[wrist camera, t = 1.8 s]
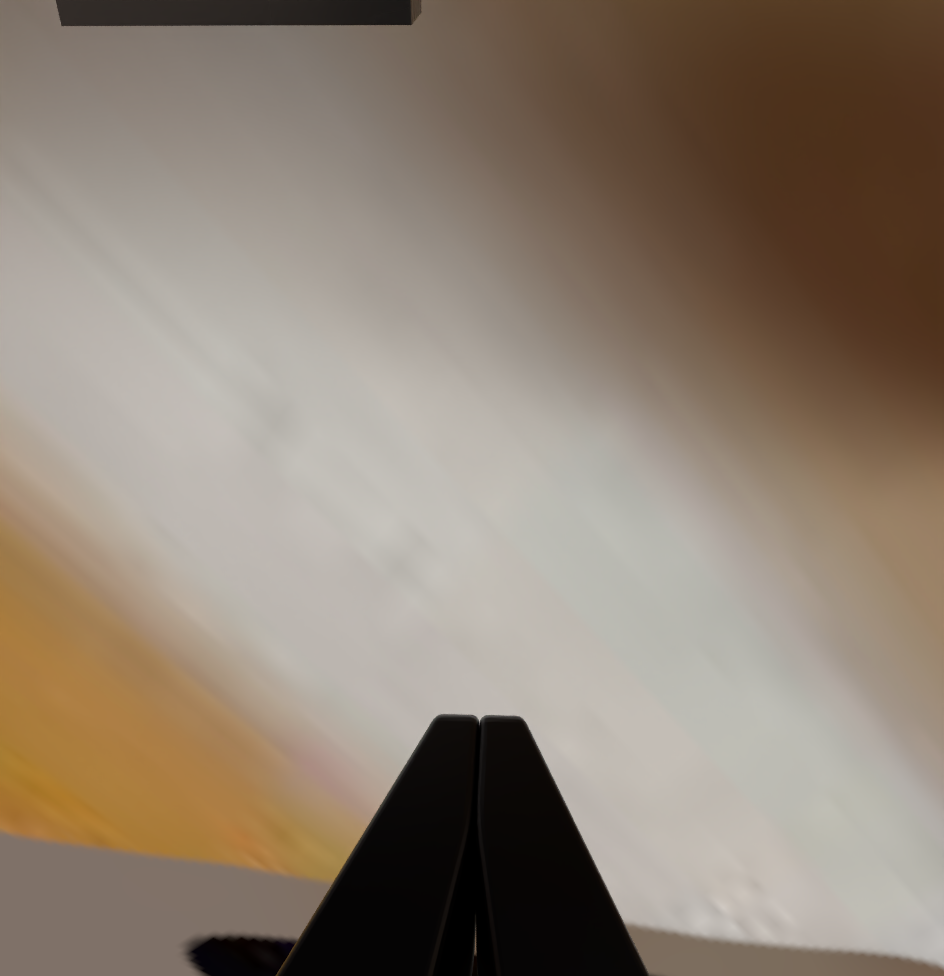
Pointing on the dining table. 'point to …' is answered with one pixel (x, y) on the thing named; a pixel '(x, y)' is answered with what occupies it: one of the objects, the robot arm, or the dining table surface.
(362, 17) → the cooker
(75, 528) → the dining table surface
